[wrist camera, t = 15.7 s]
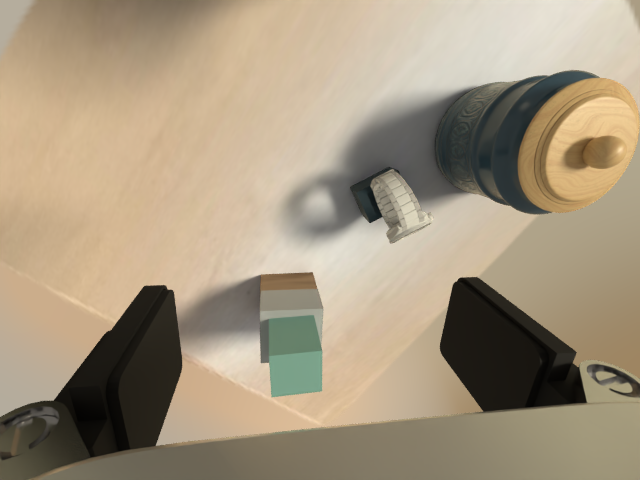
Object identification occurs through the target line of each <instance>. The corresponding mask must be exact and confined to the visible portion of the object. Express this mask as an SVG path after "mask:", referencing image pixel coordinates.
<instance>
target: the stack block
mask: <svg viewBox="0 0 640 480" xmlns="http://www.w3.org/2000/svg"><path fill="white" fill-rule="evenodd" d="M269 365H270V380H271V395H272V397H278V396H286V395H295V394H303V393H312V392H320V391H322V348H321V343H320V339H319V335H318V330H317V326H316V322H315V318H314V315H307V316H295V317H283V318H271V319H269Z"/></svg>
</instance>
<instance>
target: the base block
mask: <svg viewBox="0 0 640 480" xmlns="http://www.w3.org/2000/svg"><path fill="white" fill-rule="evenodd" d="M298 289H317V286H316V282H315V279H314V275H313V272H311V273H288V274H265V275H261V282H260V295H261V291H266V290H298Z"/></svg>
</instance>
